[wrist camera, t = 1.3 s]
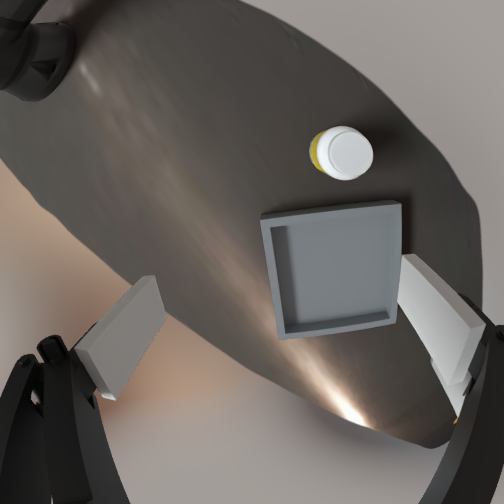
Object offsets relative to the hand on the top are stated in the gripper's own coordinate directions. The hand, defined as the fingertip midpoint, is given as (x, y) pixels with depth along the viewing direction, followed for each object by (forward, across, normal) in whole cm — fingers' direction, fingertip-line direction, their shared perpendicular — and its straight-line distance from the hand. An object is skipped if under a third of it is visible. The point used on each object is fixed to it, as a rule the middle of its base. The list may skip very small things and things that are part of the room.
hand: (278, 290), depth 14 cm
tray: (+21, +6, -9) cm, 24 cm away
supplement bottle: (+21, +7, +6) cm, 23 cm away
